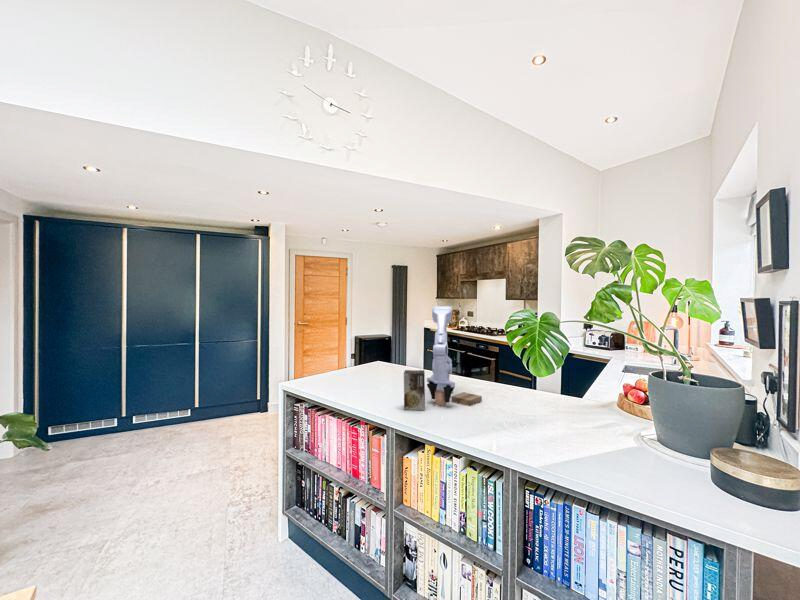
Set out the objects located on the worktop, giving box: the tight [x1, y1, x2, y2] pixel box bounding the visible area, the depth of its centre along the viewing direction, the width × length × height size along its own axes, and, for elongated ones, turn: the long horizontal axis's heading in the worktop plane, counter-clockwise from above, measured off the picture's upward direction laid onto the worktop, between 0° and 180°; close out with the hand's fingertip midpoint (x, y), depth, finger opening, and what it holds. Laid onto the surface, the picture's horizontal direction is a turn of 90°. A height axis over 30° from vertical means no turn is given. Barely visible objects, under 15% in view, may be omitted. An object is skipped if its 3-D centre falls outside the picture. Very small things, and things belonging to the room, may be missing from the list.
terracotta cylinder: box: [434, 390, 447, 407], centre depth 160 cm, size 5×5×6 cm
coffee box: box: [403, 369, 426, 411], centre depth 155 cm, size 9×6×16 cm
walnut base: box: [450, 392, 483, 407], centre depth 164 cm, size 10×10×2 cm
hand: (440, 400), depth 160 cm, fingers open, 7 cm apart
